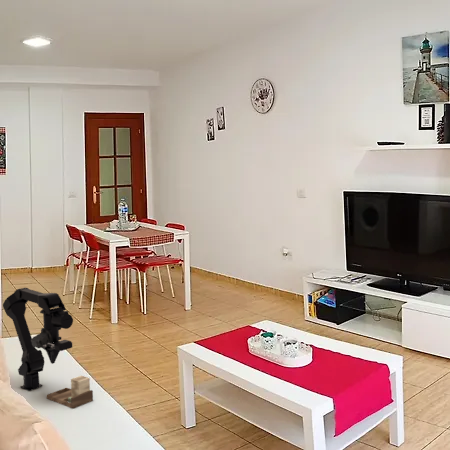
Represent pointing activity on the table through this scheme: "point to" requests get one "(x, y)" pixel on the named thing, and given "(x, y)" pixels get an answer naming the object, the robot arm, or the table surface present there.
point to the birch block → (80, 385)
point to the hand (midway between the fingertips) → (52, 363)
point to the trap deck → (70, 398)
